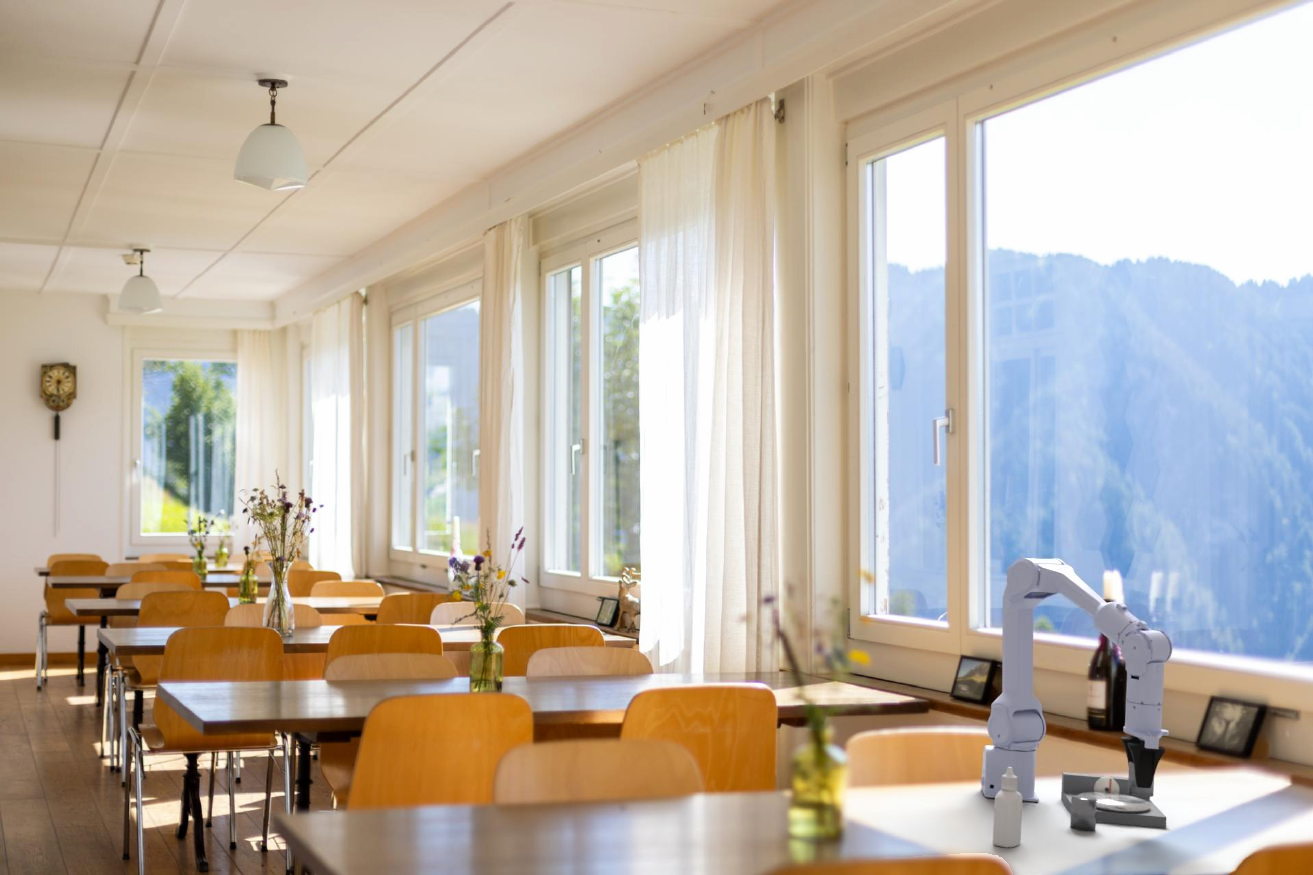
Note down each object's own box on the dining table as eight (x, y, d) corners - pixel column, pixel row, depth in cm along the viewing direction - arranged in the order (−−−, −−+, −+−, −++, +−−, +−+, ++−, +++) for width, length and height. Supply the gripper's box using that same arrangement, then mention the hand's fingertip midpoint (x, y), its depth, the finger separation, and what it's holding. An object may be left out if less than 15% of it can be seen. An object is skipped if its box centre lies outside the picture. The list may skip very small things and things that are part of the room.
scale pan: (1084, 808, 224) (1084, 804, 224) (1072, 792, 236) (1072, 789, 236) (1157, 814, 222) (1157, 811, 222) (1142, 798, 234) (1142, 795, 234)
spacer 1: (1072, 830, 217) (1073, 799, 217) (1068, 824, 221) (1069, 794, 221) (1097, 832, 216) (1098, 802, 216) (1093, 826, 220) (1094, 796, 220)
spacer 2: (1130, 795, 216) (1131, 764, 216) (1125, 789, 220) (1126, 760, 220) (1155, 797, 215) (1157, 767, 215) (1150, 792, 219) (1151, 762, 219)
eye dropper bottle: (983, 840, 207) (986, 764, 207) (1013, 839, 209) (1017, 763, 209) (999, 848, 203) (1002, 770, 203) (1030, 847, 205) (1033, 769, 205)
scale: (1074, 819, 224) (1075, 789, 224) (1061, 799, 239) (1062, 770, 239) (1166, 827, 222) (1167, 796, 222) (1146, 806, 237) (1148, 777, 237)
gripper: (1179, 711, 210) (1176, 796, 210) (1159, 697, 224) (1156, 776, 224) (1134, 707, 211) (1130, 792, 211) (1116, 694, 226) (1113, 773, 225)
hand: (1140, 784), depth 217 cm, fingers closed on spacer 2, 4 cm apart
